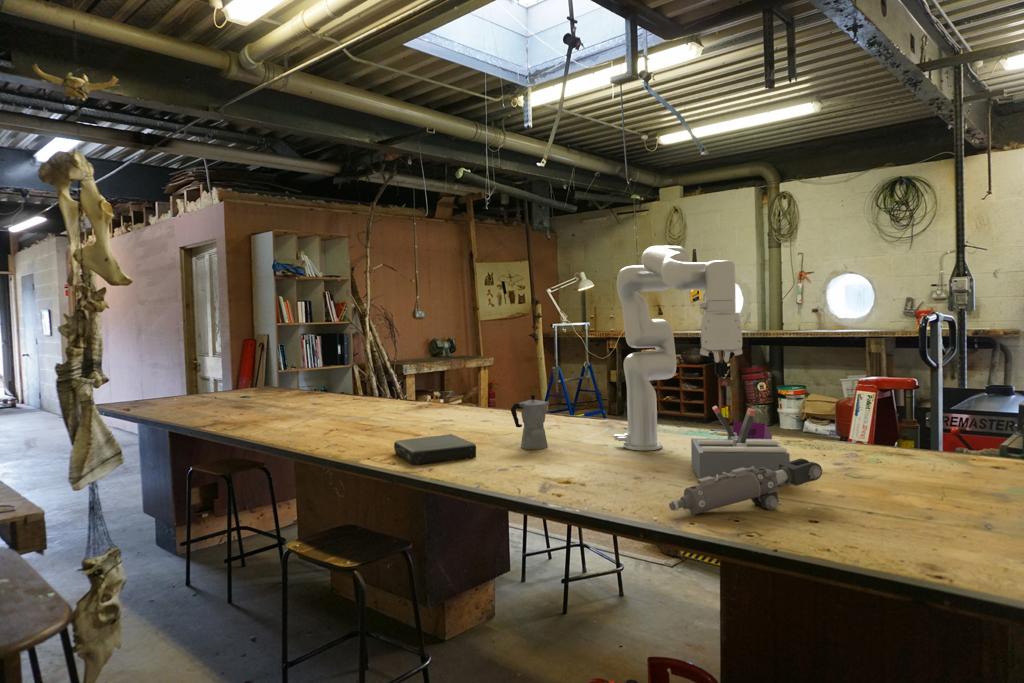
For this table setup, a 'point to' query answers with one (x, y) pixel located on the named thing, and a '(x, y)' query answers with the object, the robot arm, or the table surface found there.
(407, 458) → the network switch
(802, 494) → the table surface
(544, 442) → the coffeepot
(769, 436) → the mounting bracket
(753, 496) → the hydraulic cylinder
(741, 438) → the lever
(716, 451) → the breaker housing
